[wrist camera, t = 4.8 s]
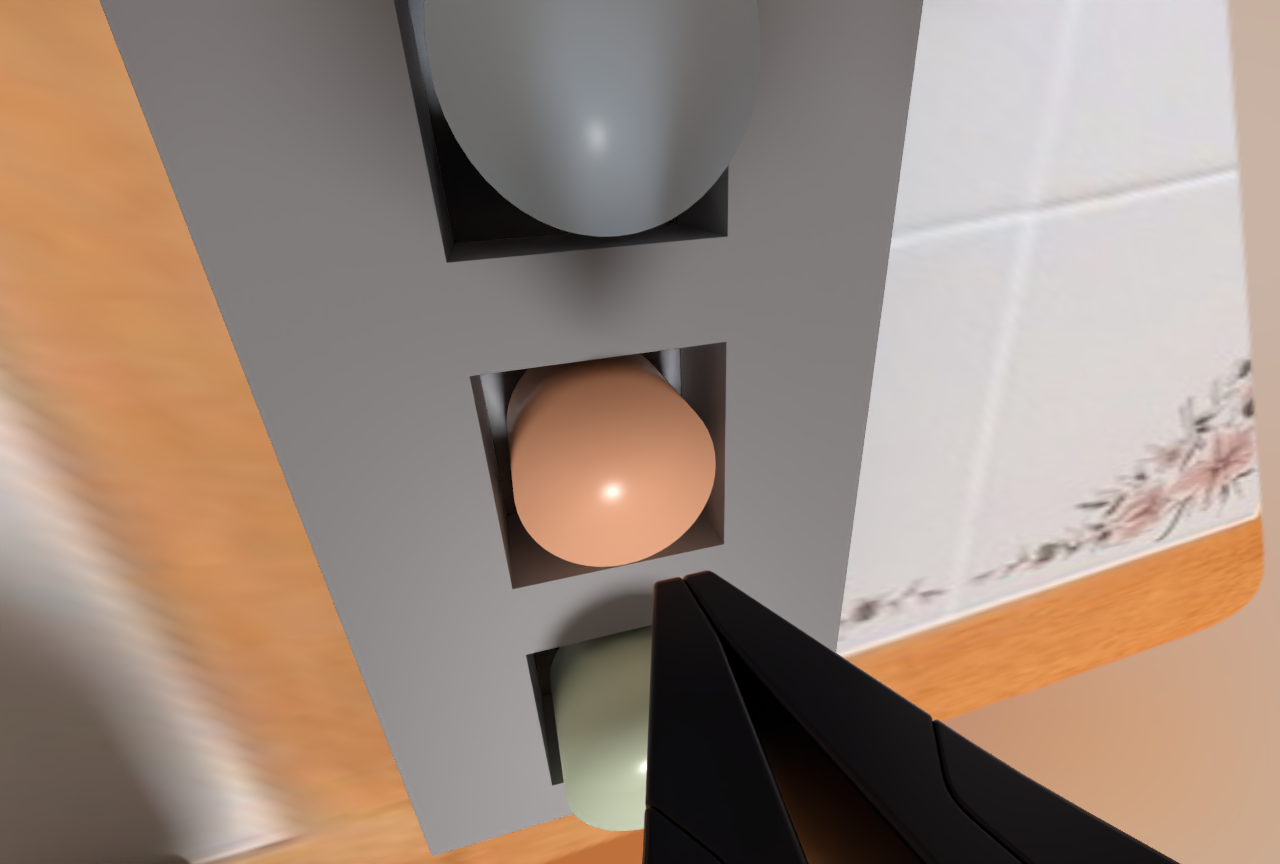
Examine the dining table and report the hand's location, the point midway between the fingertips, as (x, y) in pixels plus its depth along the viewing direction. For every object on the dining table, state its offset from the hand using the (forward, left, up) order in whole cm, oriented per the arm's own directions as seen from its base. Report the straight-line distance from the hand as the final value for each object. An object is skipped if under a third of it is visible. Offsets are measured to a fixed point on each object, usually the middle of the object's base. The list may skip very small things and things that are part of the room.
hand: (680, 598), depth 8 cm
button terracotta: (0, 0, -7) cm, 7 cm away
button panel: (0, 0, -7) cm, 7 cm away
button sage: (-7, 0, -5) cm, 9 cm away
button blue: (+7, 0, -5) cm, 9 cm away
